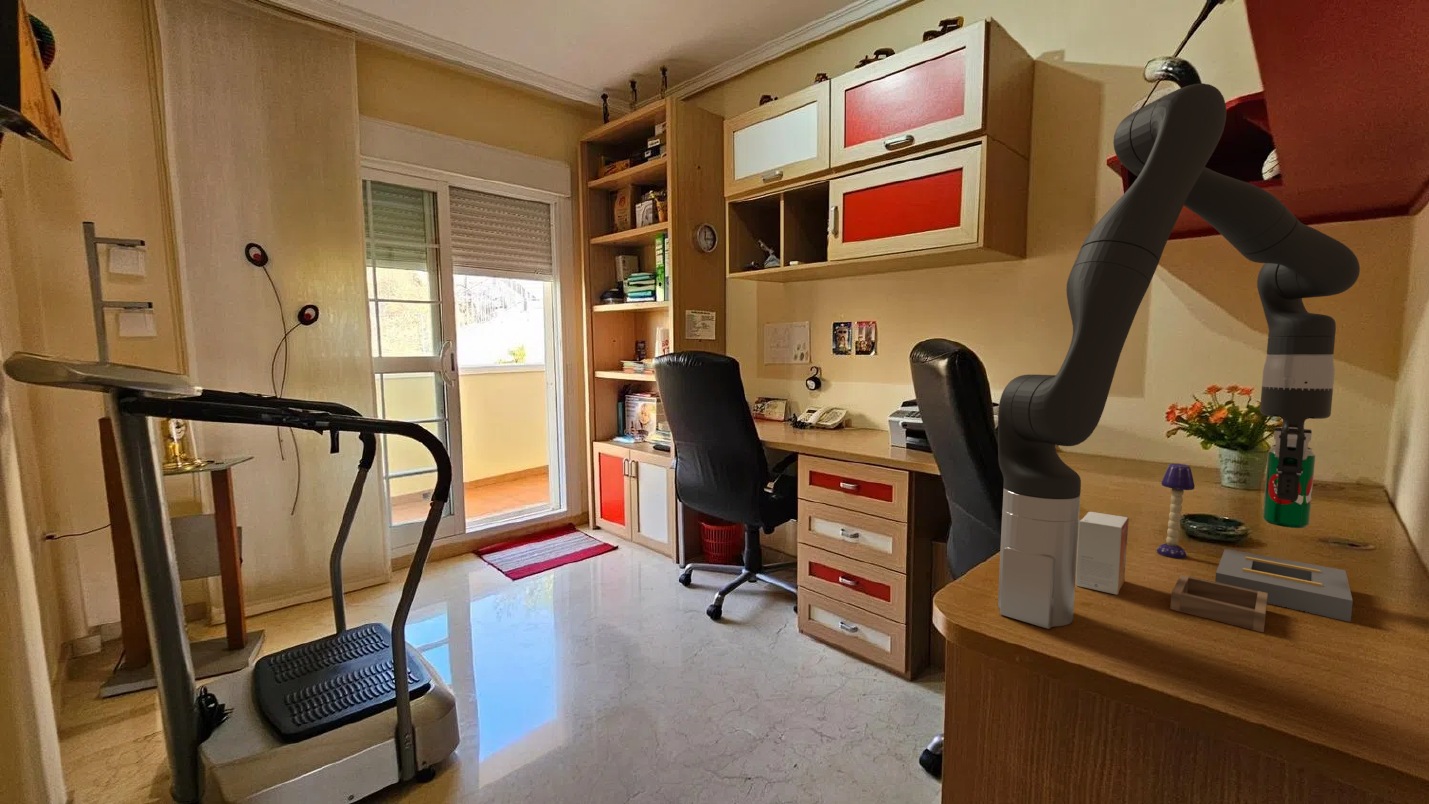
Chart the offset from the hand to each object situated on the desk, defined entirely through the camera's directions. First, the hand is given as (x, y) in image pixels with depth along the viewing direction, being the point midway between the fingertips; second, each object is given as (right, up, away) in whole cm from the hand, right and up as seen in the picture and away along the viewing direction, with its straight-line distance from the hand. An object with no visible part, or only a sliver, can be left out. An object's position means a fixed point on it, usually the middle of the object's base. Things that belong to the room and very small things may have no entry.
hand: (1287, 495), depth 87 cm
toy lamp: (-4, -14, +17) cm, 22 cm away
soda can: (0, -5, 0) cm, 5 cm away
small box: (-26, -15, +3) cm, 30 cm away
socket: (0, -15, +1) cm, 15 cm away
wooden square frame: (-16, -15, -6) cm, 23 cm away
